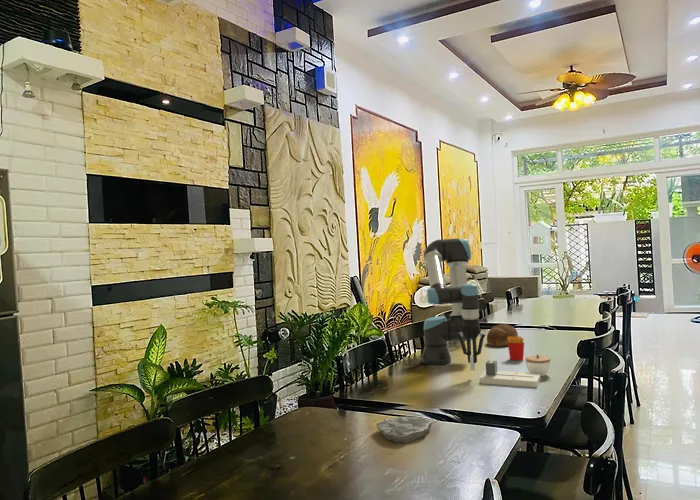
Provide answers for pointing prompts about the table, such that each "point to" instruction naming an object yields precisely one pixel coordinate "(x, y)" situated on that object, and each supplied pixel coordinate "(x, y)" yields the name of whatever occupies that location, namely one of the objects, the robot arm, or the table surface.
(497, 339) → the bread
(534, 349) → the table surface
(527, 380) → the console
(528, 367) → the lidded jar
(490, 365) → the fader tab
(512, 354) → the french fries
